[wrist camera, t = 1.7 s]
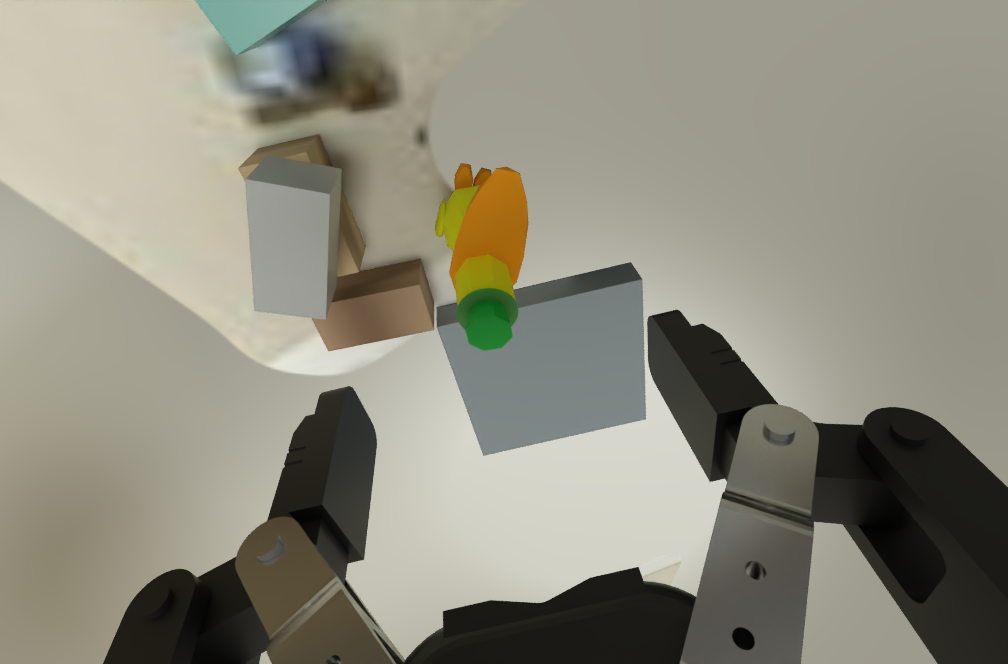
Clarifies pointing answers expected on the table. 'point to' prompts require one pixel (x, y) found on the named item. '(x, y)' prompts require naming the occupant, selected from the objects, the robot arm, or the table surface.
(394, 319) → the walnut brick
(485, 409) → the slate stand
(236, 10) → the teal brick
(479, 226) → the toy figure
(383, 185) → the table surface
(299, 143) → the oak brick
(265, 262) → the grey brick
